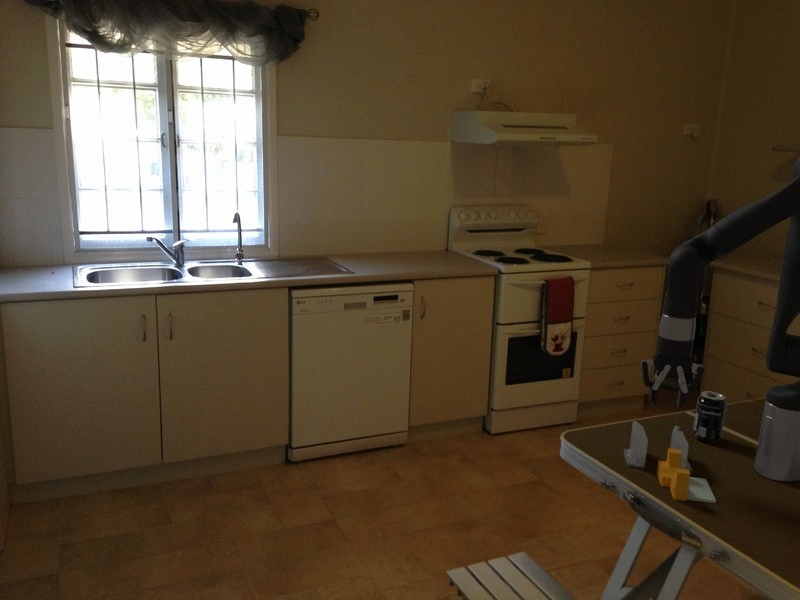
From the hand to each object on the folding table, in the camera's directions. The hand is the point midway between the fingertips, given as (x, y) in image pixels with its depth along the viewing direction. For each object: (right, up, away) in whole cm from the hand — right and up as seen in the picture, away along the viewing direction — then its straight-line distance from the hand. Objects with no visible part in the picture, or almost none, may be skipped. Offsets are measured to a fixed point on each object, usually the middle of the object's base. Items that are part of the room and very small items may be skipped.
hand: (666, 405), depth 165 cm
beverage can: (+18, -12, +20) cm, 29 cm away
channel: (0, -14, +7) cm, 16 cm away
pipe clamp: (-1, -18, -6) cm, 19 cm away
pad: (+4, -18, -7) cm, 19 cm away
